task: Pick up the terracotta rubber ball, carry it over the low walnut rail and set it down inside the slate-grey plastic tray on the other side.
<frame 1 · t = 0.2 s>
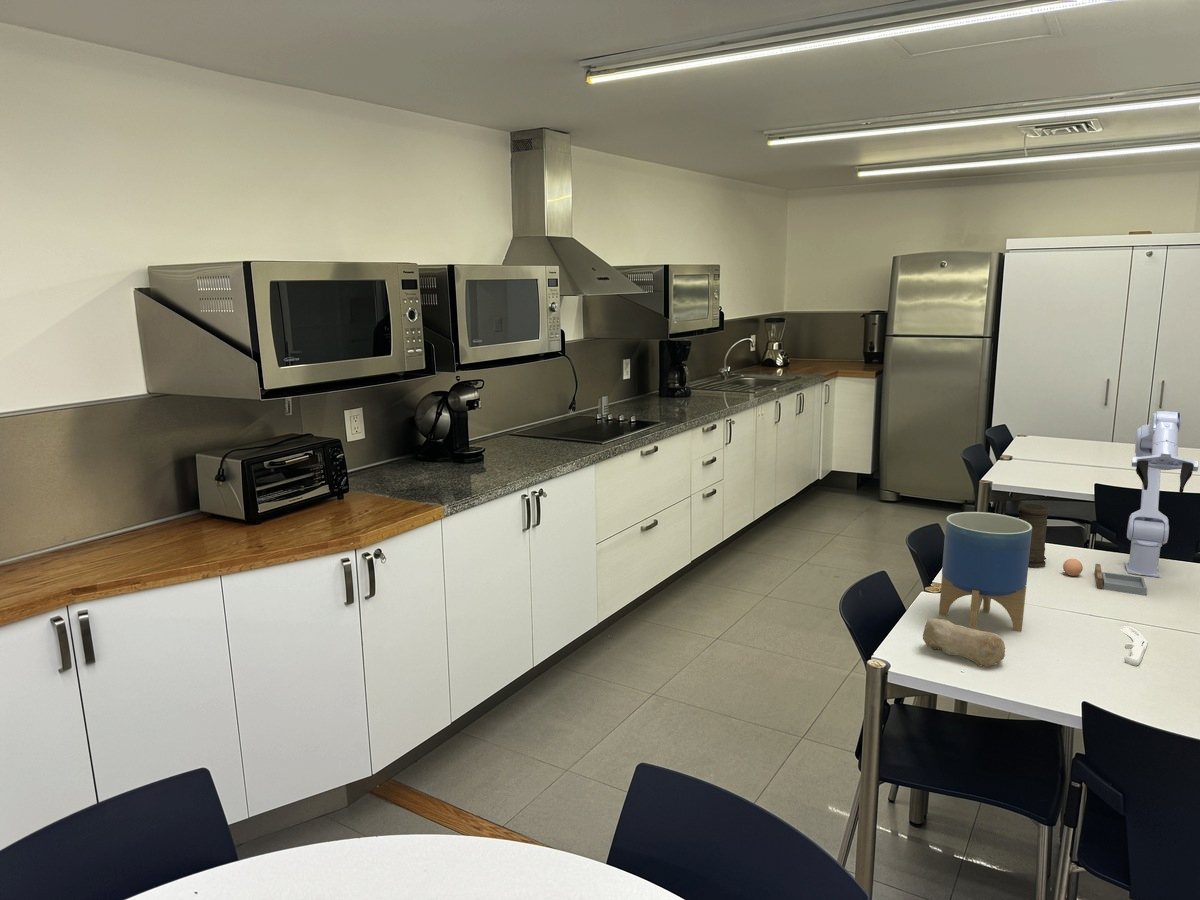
hand: (1163, 489, 213), 31 cm above the table, fingers open, 7 cm apart
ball: (1071, 575, 240), on the table
planter: (979, 623, 207), on the table
knife: (1127, 642, 196), on the table
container: (1028, 564, 250), on the table
tan rounded lump: (962, 657, 188), on the table
tray: (1123, 586, 231), on the table
rail: (1098, 581, 235), on the table
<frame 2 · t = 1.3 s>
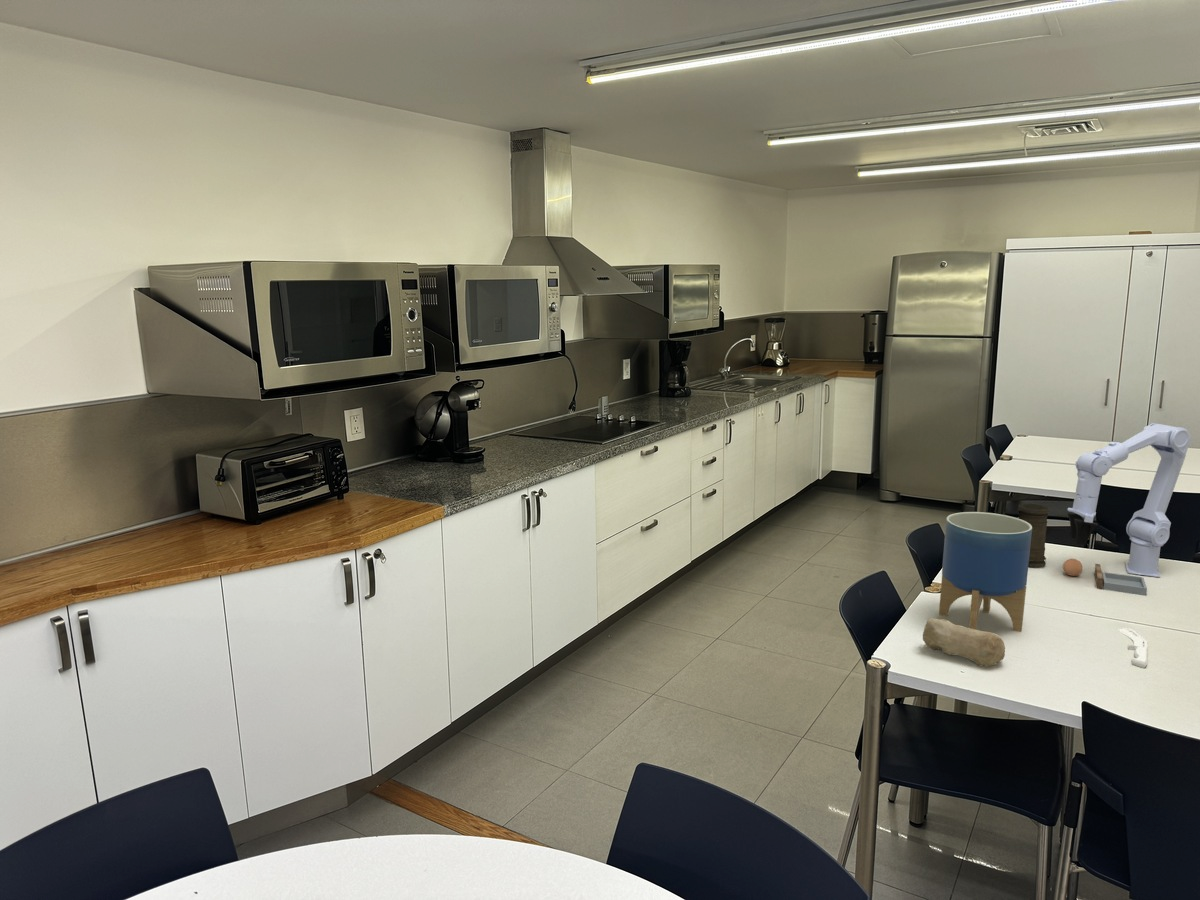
hand: (1078, 541, 235), 11 cm above the table, fingers open, 7 cm apart
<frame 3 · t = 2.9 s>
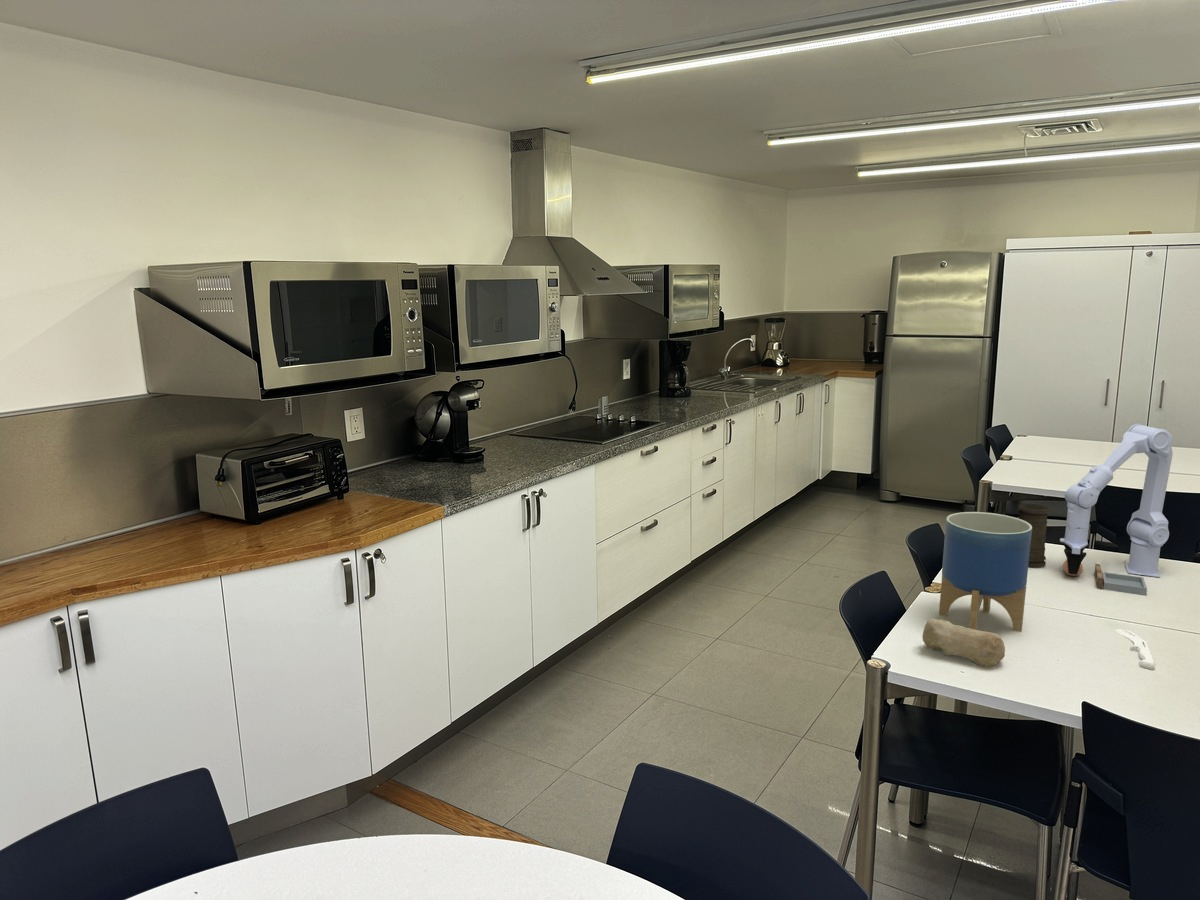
hand: (1072, 570, 240), 1 cm above the table, fingers closed on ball, 5 cm apart
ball: (1071, 575, 240), on the table, touching gripper
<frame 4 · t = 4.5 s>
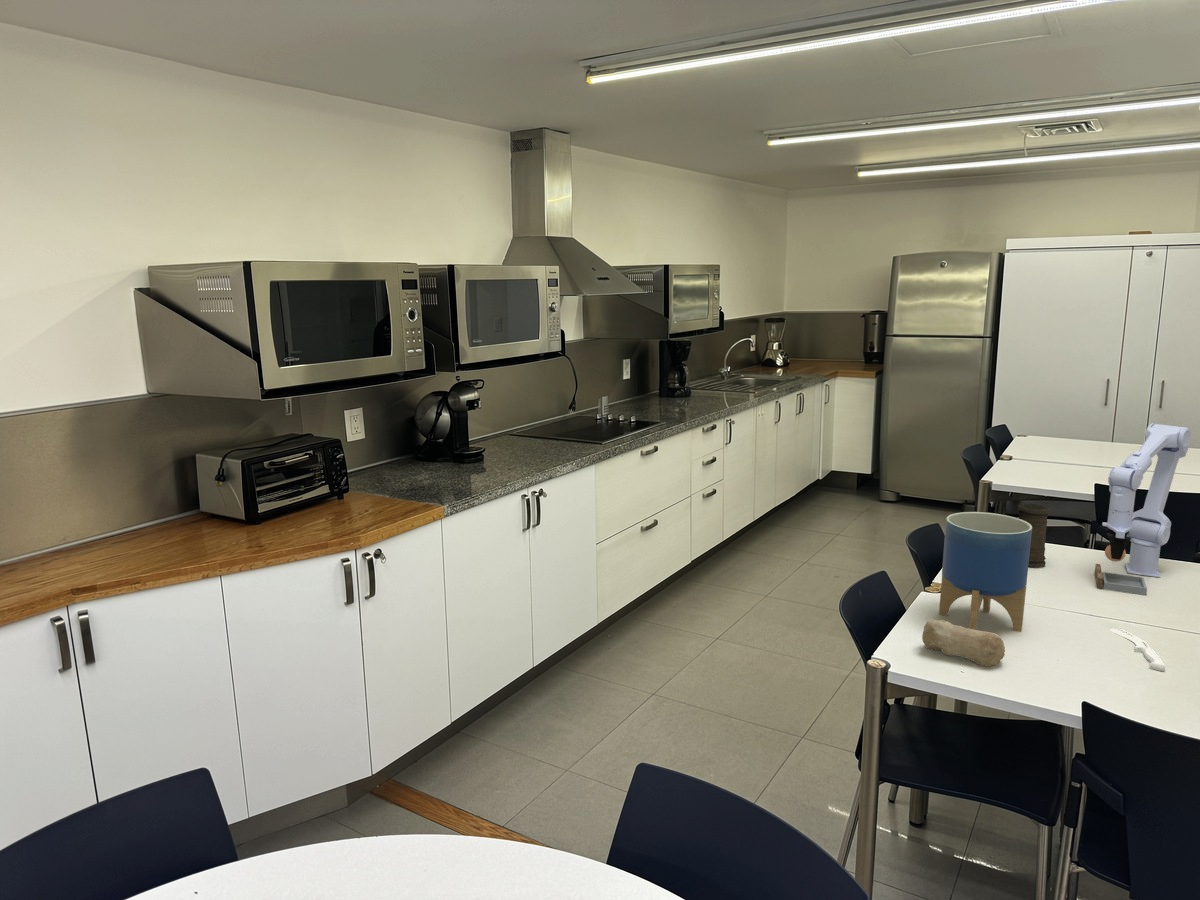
hand: (1115, 556, 231), 8 cm above the table, fingers closed on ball, 5 cm apart
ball: (1114, 561, 231), point 7 cm above the table, touching gripper
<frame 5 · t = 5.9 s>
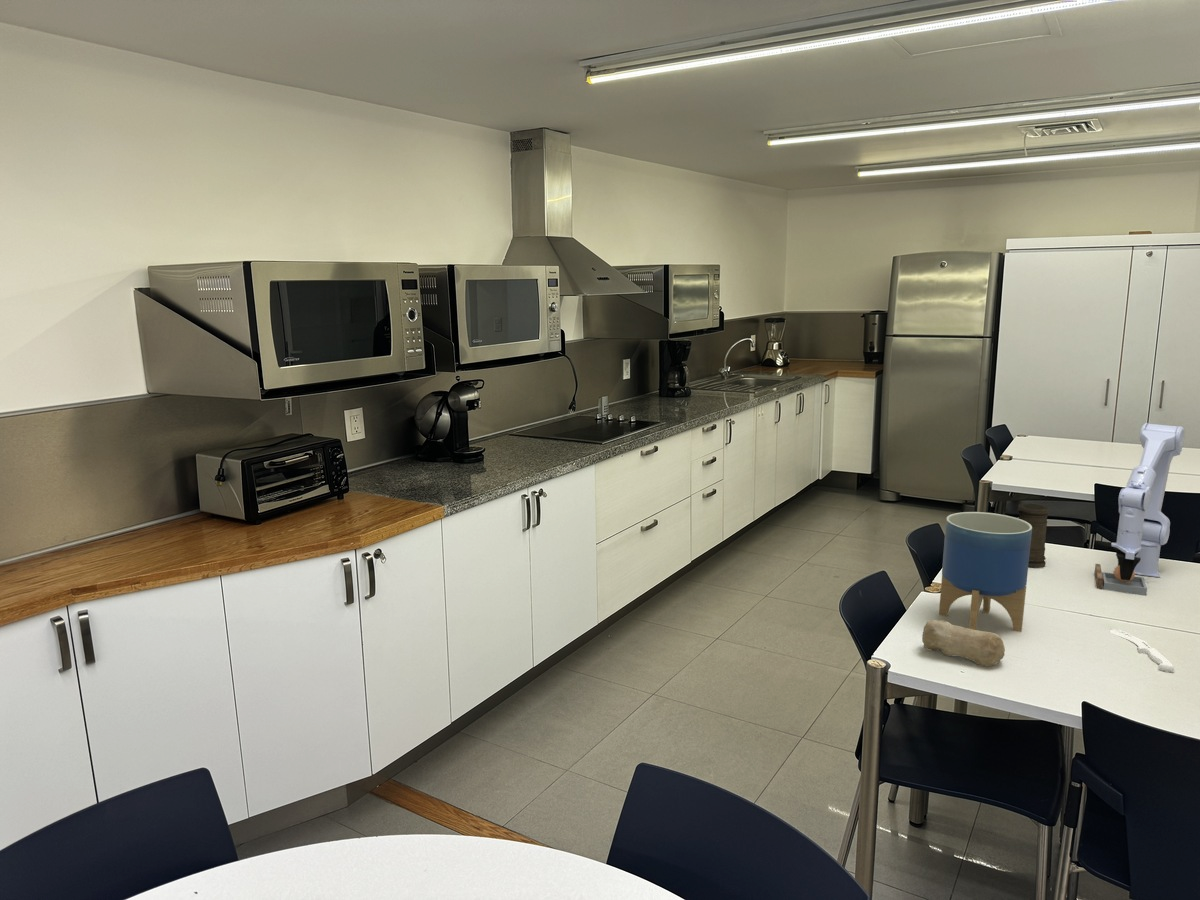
hand: (1124, 576, 230), 3 cm above the table, fingers closed on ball, 5 cm apart
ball: (1123, 581, 230), point 2 cm above the table, touching gripper
when the fingers open (3 cm above the table, at t = 6.3 s): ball stays where it is, resting on tray.
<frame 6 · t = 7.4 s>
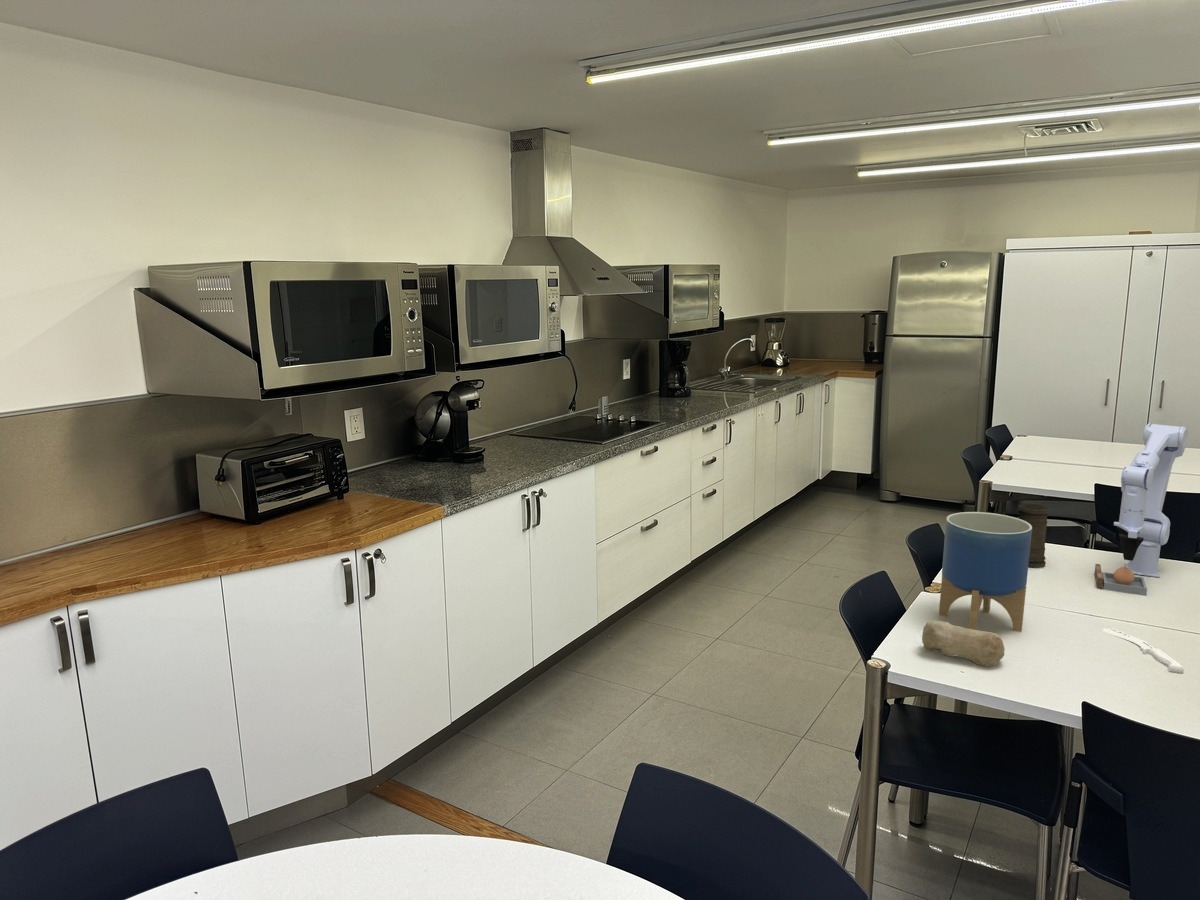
hand: (1127, 555, 229), 9 cm above the table, fingers open, 7 cm apart
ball: (1122, 584, 230), point 1 cm above the table, touching tray
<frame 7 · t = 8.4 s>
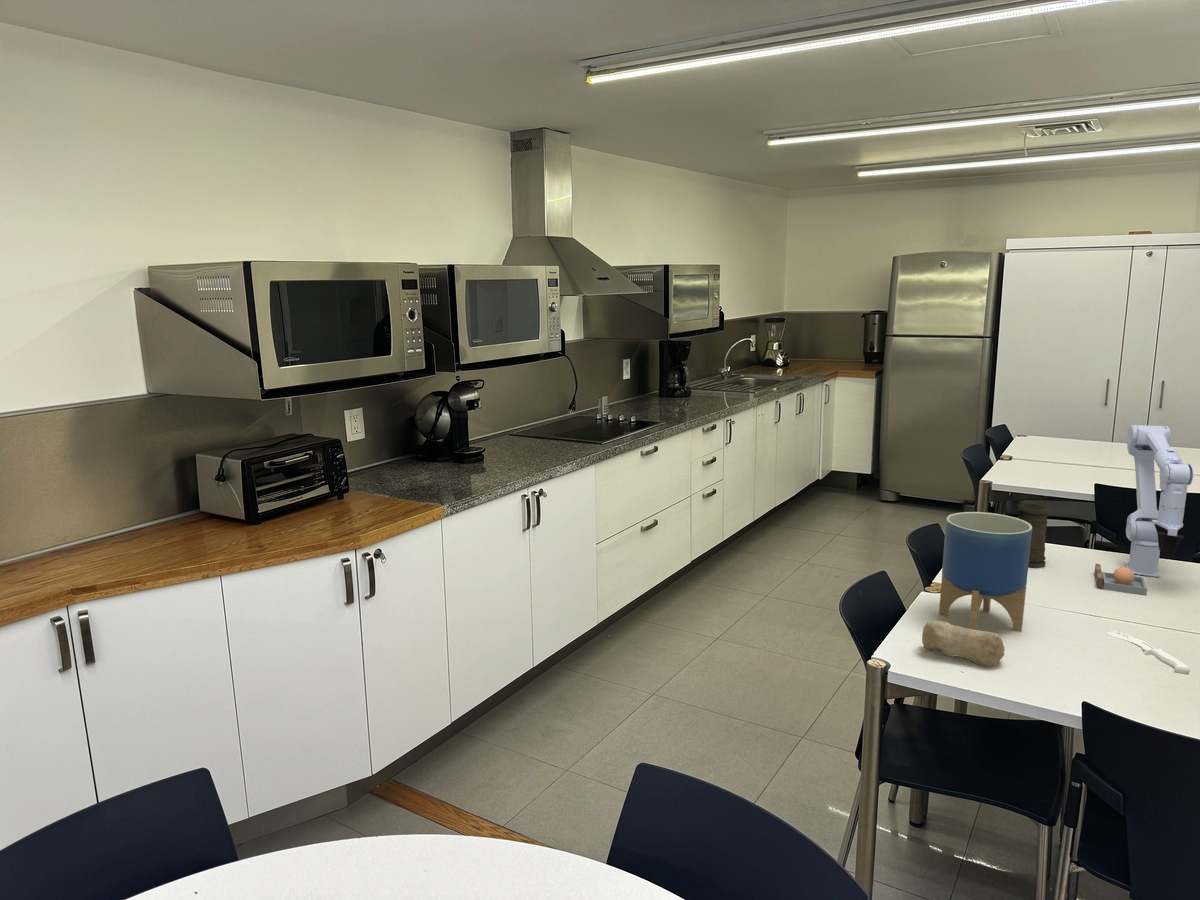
hand: (1165, 554, 226), 10 cm above the table, fingers open, 7 cm apart
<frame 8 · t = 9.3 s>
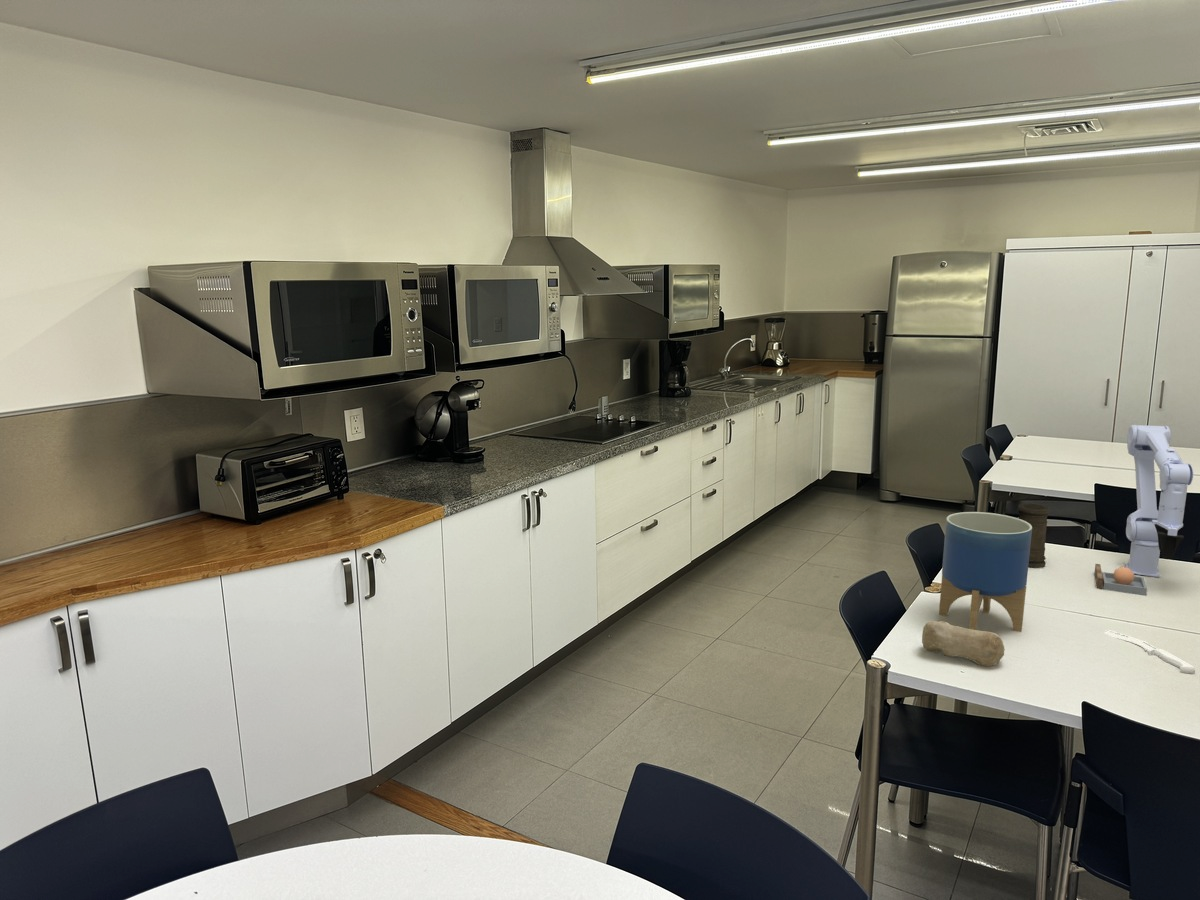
hand: (1165, 554, 226), 10 cm above the table, fingers open, 7 cm apart
at the end: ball inside the target area on the tray (0.1 cm from its centre), point 0.6 cm above the tray's base; the gripper is holding nothing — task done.
